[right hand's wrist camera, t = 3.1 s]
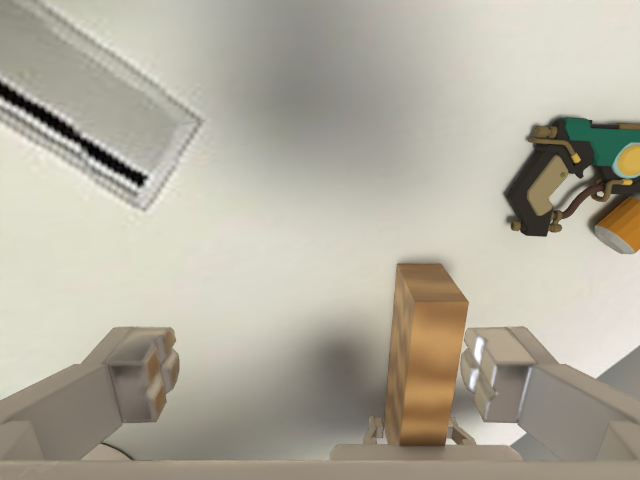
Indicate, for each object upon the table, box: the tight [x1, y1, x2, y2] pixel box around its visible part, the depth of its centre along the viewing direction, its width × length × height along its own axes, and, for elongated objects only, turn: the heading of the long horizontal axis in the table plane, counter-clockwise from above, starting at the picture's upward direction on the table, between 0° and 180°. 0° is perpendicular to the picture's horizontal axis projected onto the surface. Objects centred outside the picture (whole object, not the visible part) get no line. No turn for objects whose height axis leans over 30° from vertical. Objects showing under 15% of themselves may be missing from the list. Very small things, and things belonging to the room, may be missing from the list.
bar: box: [384, 264, 469, 446], centre depth 42 cm, size 24×5×8 cm, turn 0°
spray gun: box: [506, 118, 640, 254], centre depth 36 cm, size 4×17×15 cm
